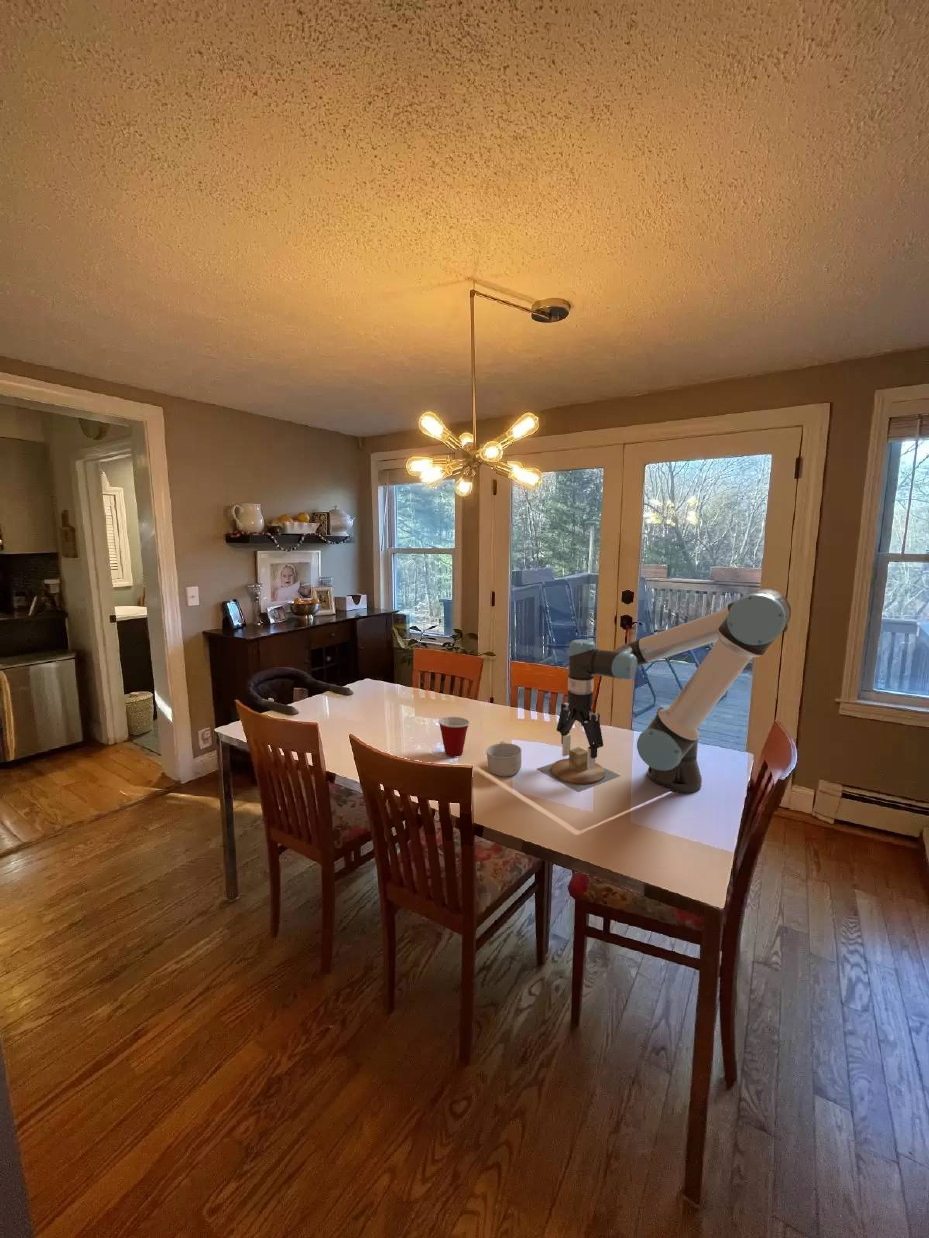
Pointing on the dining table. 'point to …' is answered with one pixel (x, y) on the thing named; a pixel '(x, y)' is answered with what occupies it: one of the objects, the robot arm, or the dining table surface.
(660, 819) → the dining table surface
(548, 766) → the mat
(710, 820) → the dining table surface
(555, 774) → the lid
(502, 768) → the teacup
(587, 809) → the dining table surface
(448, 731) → the plastic cup
